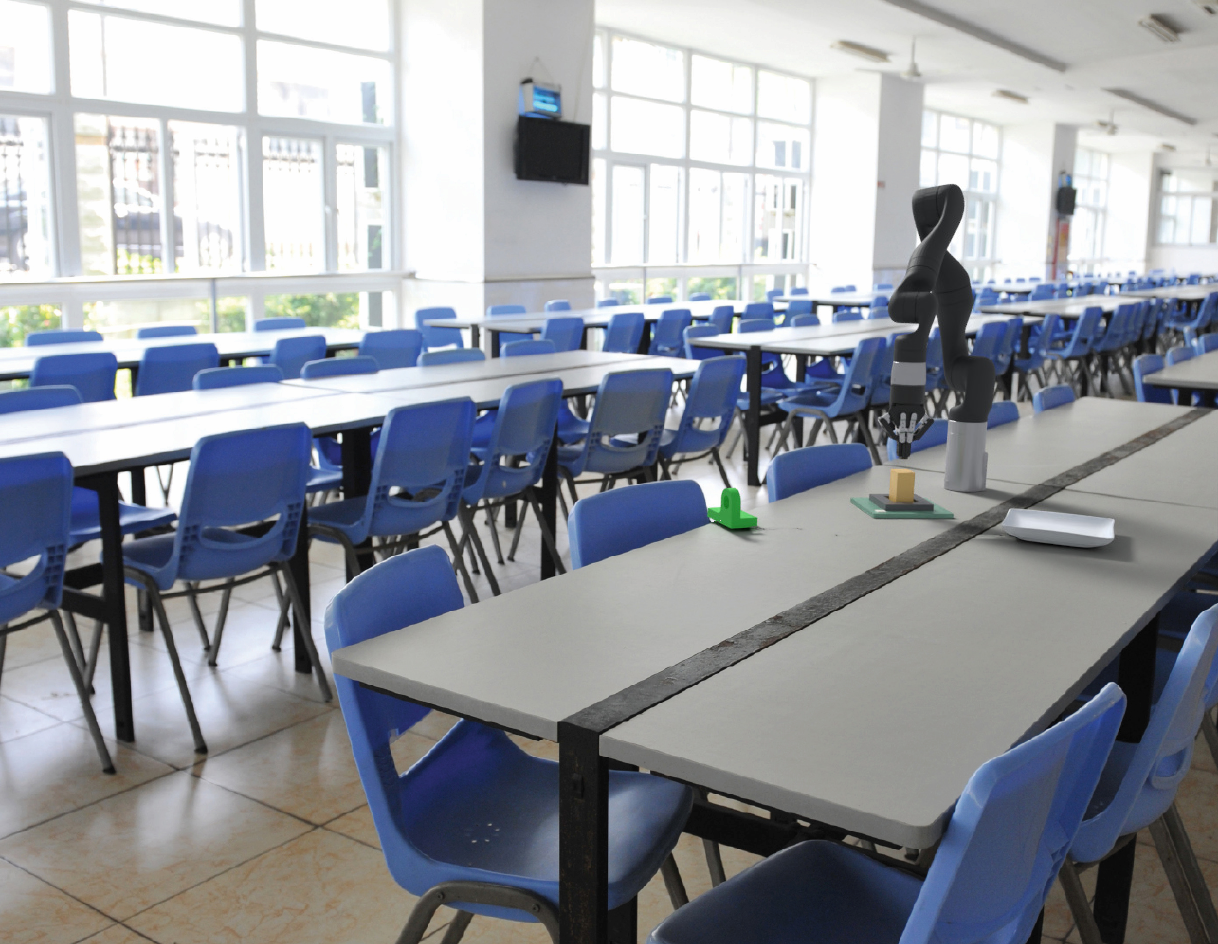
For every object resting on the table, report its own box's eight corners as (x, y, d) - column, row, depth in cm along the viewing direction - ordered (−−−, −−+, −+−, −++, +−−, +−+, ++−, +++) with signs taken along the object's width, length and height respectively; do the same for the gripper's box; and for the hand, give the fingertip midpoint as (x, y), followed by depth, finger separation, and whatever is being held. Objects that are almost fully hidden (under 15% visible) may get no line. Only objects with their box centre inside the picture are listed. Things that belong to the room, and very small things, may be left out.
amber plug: (905, 503, 258) (907, 468, 256) (913, 507, 253) (915, 472, 252) (888, 503, 258) (890, 468, 256) (895, 507, 253) (897, 472, 251)
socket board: (925, 502, 265) (925, 491, 265) (953, 518, 247) (954, 507, 247) (850, 501, 264) (850, 491, 263) (873, 518, 246) (874, 506, 246)
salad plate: (1113, 532, 238) (1115, 516, 238) (1113, 554, 219) (1114, 536, 218) (1008, 521, 247) (1009, 506, 246) (998, 541, 228) (1000, 525, 227)
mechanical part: (756, 526, 236) (758, 489, 235) (731, 528, 234) (732, 490, 233) (732, 515, 247) (733, 479, 246) (707, 516, 245) (708, 480, 244)
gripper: (931, 381, 255) (925, 456, 258) (873, 380, 254) (869, 455, 257) (943, 384, 247) (937, 461, 250) (884, 383, 246) (879, 461, 249)
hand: (902, 458), depth 253 cm, fingers closed
